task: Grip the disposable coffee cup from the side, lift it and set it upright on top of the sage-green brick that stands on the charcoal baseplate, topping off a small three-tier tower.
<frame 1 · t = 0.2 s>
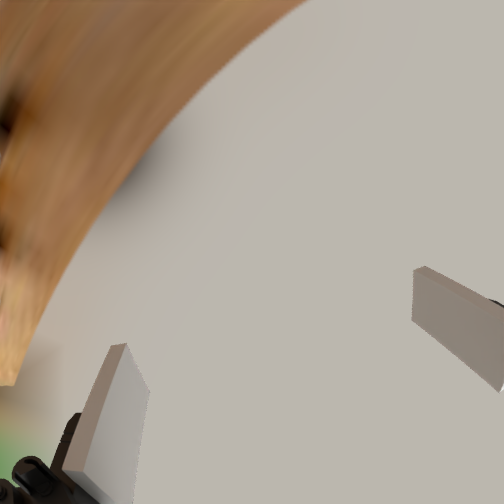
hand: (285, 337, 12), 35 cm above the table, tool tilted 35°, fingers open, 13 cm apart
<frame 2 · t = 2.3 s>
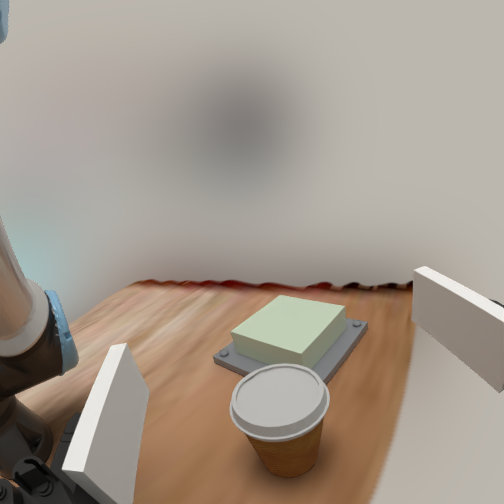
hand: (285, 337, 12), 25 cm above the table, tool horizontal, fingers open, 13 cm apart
disposable coffee cup: (290, 457, 28), on the table
tower base: (293, 347, 50), on the table
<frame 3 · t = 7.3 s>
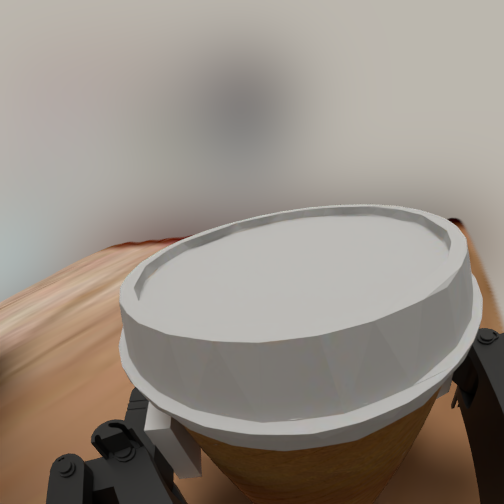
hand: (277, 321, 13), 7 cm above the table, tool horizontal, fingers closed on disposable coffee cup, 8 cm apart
disposable coffee cup: (318, 481, 11), on the table, touching gripper
when the fingers open (14 cm above the table, at t = 12.6 s): disposable coffee cup moves 3 cm, resting on tower base.
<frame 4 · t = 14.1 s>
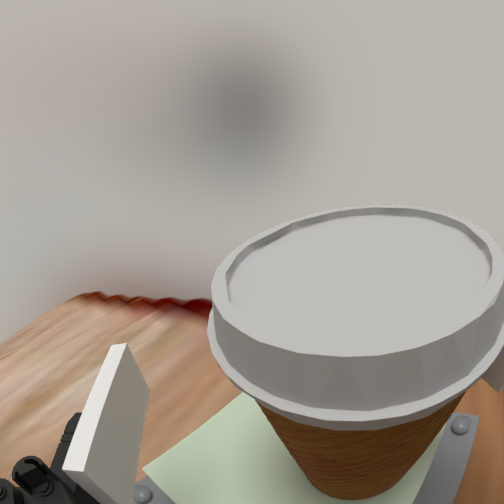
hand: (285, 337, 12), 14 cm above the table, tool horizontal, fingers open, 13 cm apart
disposable coffee cup: (358, 453, 12), point 6 cm above the table, touching tower base
tower base: (309, 493, 15), on the table
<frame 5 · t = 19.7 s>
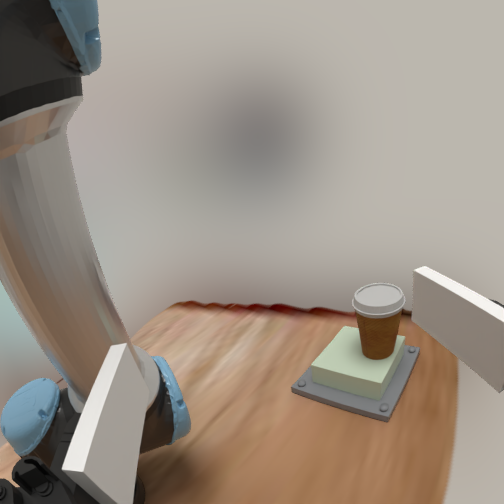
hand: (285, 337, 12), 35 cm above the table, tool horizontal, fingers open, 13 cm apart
disposable coffee cup: (377, 350, 50), point 6 cm above the table, touching tower base
tower base: (360, 373, 53), on the table
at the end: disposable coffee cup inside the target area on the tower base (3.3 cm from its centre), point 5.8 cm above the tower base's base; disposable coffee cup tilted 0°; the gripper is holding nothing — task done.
